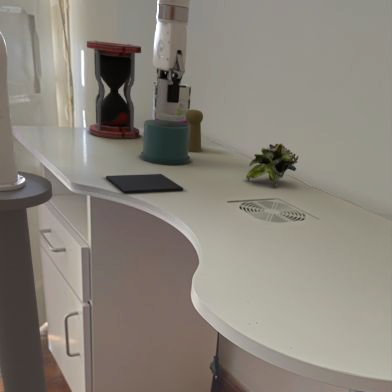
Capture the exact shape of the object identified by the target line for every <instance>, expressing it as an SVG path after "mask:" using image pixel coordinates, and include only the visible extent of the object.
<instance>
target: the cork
mask: <svg viewBox="0 0 392 392" xmlns="http://www.w3.org/2000/svg"><path fill="white" fill-rule="evenodd" d="M203 119H204V113H203V112H202V111H201V110H198V109H190V110H188V111H187V112H186V120H187V124H188V125H190V136H189V148H188V152H191V153H199V152H200V153H201V152H202V127H201V124H202V122H203Z"/></svg>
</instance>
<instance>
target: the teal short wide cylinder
mask: <svg viewBox="0 0 392 392" xmlns="http://www.w3.org/2000/svg"><path fill="white" fill-rule="evenodd" d="M189 136H190V125H188V124H186V123H182V122H177V121H171V120H152V119H147V120H144V121H143V140H142V141H143V145H142V146H143V147H142V152H140V159H142V160H143V161H145V162H148V163H152V164H157V165H164V166H165V165H166V166H182V165H186V164H189V163H190V162H191V161H190V160H191V157H190V155H189V151H188V148H189Z"/></svg>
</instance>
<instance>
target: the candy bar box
mask: <svg viewBox="0 0 392 392" xmlns="http://www.w3.org/2000/svg"><path fill="white" fill-rule="evenodd" d="M191 90H192V86H191V85H189V84H186V83H185V84H183V83H181V85H180V92H179V102H178V106H177V114H165V113H160V112H157V82H153V83H152V115H151V117H152V119H151V120H171V121H177V122H182V123H186V124H187V120H186V112H187V111H188V110H191V109H190V108H191V94H192V91H191Z"/></svg>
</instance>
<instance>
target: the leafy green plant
mask: <svg viewBox="0 0 392 392" xmlns="http://www.w3.org/2000/svg"><path fill="white" fill-rule="evenodd" d="M260 151H261V153H262V154H261V153H260V154H258V153H254V158H252V159H251V161H250V162H249V167H251V166H252V165H254V166H253V167H252V168H251V169H250V170H249V171H248V172H247V174H246V176H245V179H246V180H247V182H249V181H250V179H257V178H259V177H261V176H263V175H265V174H268V178H269V180H271V181H273V182H275V183H274V186H273V188H276V186H277V185H278V183H279V181H280V179H282V178H283V177H284V175H285V173H286V171H288V170H290V171H292V172H295V171H297V168H296V166H294V165H295V164H297V163H298V160H299V155H297V156H296V153H293V151H291V150H290V149H288V148H287V147H286V146H285V145H283V144H282V143H275V145H274V144H271V143H270V144H269V145H268V147H266V148H265V147H264V146H263V147H261V149H260Z"/></svg>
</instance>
